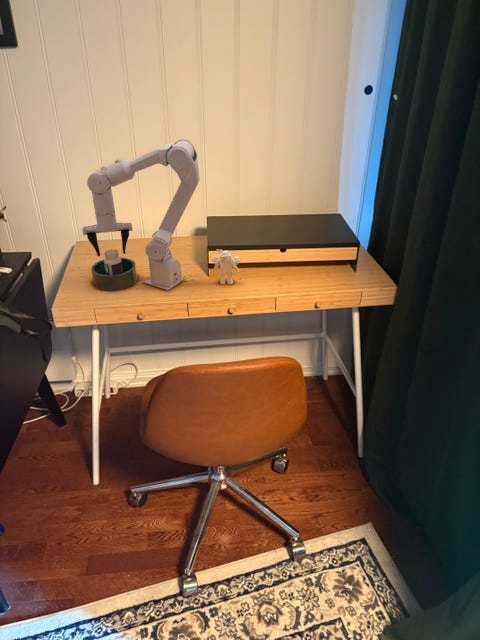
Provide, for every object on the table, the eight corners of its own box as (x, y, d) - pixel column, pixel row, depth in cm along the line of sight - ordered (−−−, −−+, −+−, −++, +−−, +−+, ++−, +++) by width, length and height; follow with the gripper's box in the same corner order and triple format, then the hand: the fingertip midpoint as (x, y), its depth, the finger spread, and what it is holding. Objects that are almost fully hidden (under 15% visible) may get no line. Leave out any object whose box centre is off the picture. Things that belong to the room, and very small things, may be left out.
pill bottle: (126, 276, 155) (122, 248, 149) (121, 284, 150) (117, 255, 145) (110, 275, 155) (105, 247, 150) (104, 283, 151) (99, 255, 145)
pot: (138, 269, 159) (136, 256, 157) (136, 289, 148) (134, 275, 145) (96, 272, 158) (94, 258, 155) (91, 292, 146) (88, 277, 144)
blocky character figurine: (211, 284, 150) (210, 250, 144) (213, 279, 154) (212, 244, 147) (240, 285, 150) (240, 250, 143) (241, 280, 153) (241, 245, 147)
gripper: (129, 205, 146) (134, 246, 153) (80, 209, 143) (87, 250, 150) (130, 213, 140) (135, 255, 147) (79, 217, 137) (87, 260, 144)
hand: (111, 253), depth 148 cm, fingers open, 7 cm apart
